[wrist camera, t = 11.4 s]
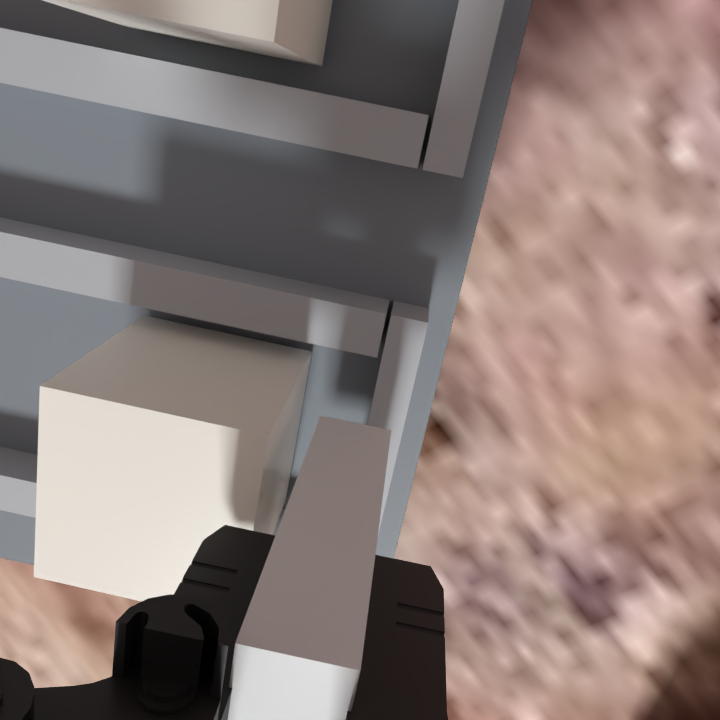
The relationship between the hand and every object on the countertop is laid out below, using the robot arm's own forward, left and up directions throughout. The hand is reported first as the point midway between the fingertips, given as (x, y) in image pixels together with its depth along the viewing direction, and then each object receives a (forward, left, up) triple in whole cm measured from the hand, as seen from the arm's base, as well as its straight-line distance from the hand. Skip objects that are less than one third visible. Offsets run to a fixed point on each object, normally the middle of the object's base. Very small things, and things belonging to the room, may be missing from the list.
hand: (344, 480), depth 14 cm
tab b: (0, -3, -2) cm, 4 cm away
